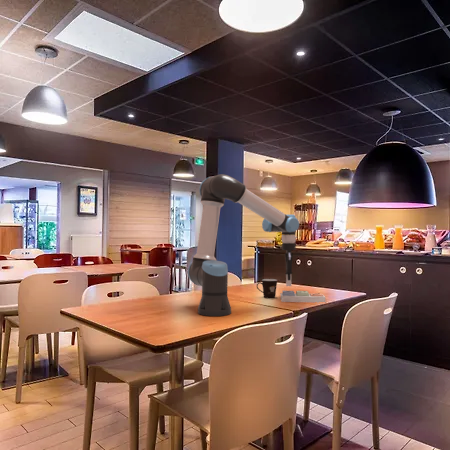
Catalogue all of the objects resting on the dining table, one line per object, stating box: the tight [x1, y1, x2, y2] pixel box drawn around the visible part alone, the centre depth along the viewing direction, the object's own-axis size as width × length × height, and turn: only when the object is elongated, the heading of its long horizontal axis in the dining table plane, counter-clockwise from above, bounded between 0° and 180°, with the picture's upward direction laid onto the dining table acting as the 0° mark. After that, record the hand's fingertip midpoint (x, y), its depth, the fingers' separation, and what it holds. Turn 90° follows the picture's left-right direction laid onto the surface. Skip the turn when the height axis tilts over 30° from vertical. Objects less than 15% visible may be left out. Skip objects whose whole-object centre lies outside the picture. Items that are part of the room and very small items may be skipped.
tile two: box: [295, 290, 310, 296], centre depth 212 cm, size 6×6×3 cm
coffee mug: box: [256, 278, 278, 300], centre depth 220 cm, size 12×9×10 cm
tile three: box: [309, 292, 324, 296], centre depth 211 cm, size 6×6×3 cm
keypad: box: [279, 292, 326, 304], centre depth 211 cm, size 23×10×3 cm, turn 86°
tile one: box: [281, 290, 296, 296], centre depth 212 cm, size 6×6×3 cm
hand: (288, 285), depth 212 cm, fingers closed
